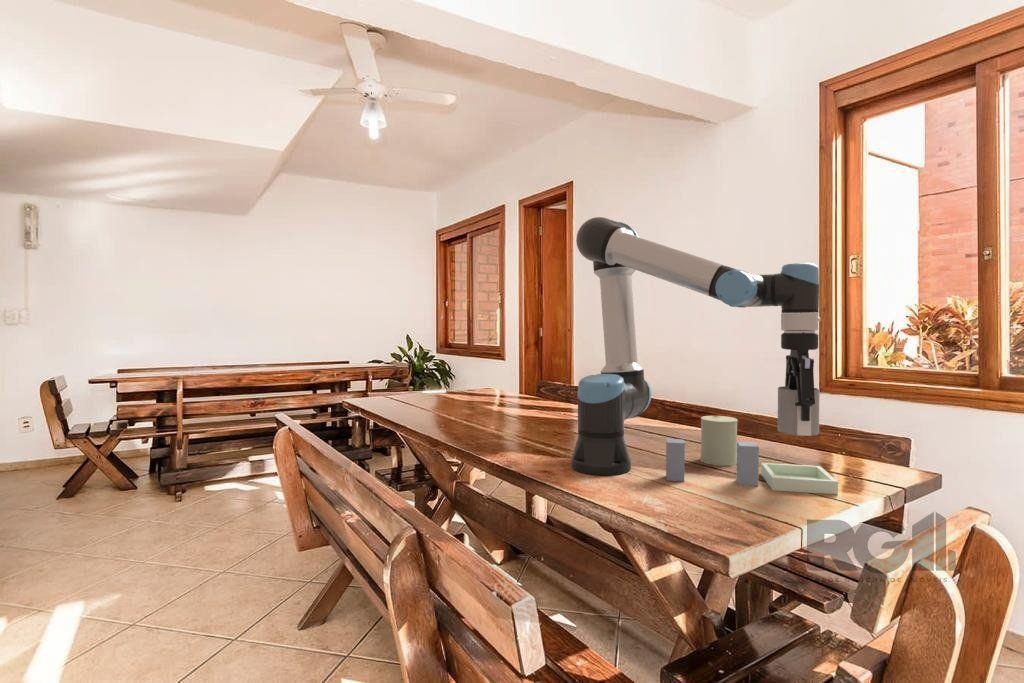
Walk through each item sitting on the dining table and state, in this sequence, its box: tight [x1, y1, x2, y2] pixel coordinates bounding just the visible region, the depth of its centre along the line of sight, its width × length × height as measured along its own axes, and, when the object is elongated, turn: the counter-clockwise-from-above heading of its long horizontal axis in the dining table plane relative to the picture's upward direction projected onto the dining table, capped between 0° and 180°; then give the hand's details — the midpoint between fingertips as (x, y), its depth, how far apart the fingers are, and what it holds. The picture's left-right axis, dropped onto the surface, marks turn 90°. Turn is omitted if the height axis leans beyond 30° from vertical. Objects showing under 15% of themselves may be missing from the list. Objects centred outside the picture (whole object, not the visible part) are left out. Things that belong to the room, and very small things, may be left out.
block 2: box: [736, 441, 760, 487], centre depth 128 cm, size 4×4×9 cm
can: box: [700, 415, 738, 467], centre depth 147 cm, size 9×9×12 cm
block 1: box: [665, 438, 686, 482], centre depth 131 cm, size 4×4×9 cm
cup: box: [776, 385, 821, 437], centre depth 126 cm, size 8×8×10 cm
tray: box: [760, 462, 839, 495], centre depth 127 cm, size 13×13×3 cm
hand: (798, 431), depth 126 cm, fingers closed on cup, 8 cm apart
